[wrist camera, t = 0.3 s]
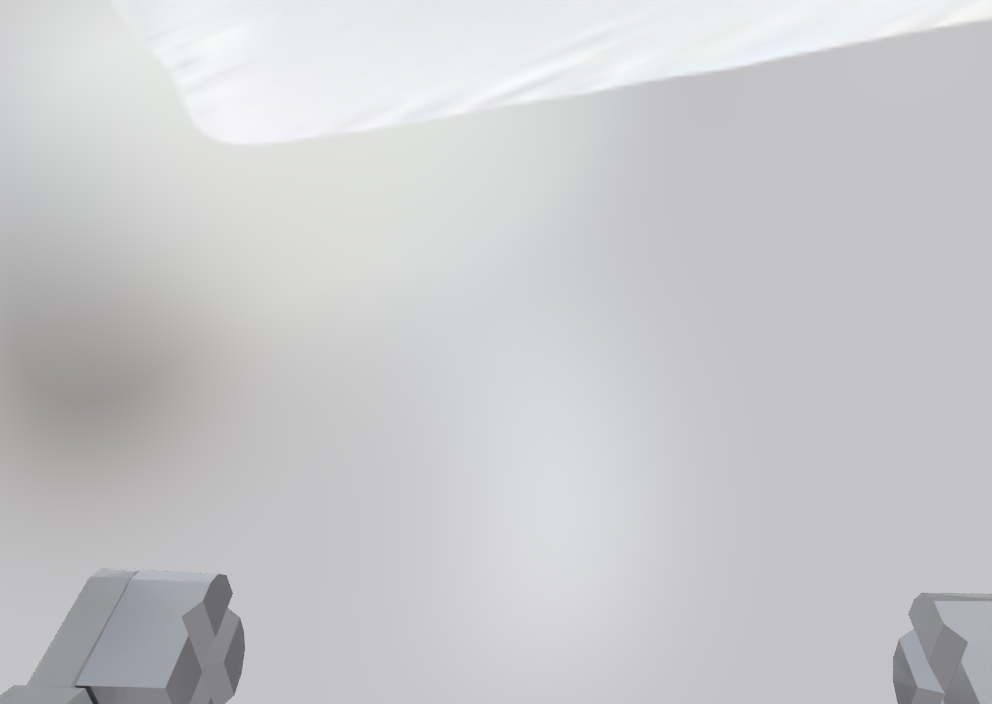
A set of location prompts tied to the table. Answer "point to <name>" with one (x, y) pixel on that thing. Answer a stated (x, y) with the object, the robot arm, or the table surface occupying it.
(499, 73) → the table surface
